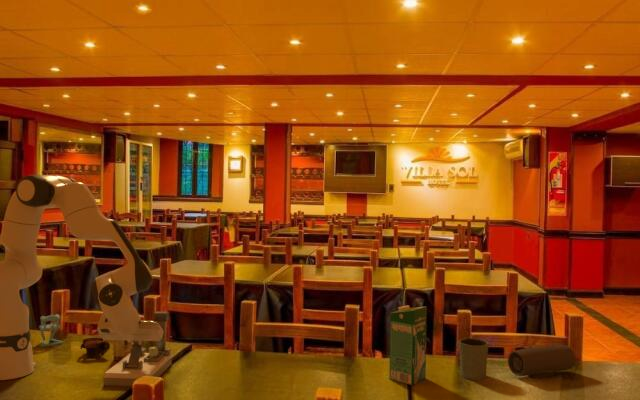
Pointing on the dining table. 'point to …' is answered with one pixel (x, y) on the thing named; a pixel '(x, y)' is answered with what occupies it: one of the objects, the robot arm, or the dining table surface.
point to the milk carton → (408, 344)
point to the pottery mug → (94, 348)
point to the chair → (48, 327)
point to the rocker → (141, 351)
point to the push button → (153, 352)
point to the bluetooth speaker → (541, 360)
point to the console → (146, 367)
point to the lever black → (161, 320)
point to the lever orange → (135, 356)
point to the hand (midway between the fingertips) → (137, 343)
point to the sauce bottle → (121, 349)
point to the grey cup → (473, 358)
